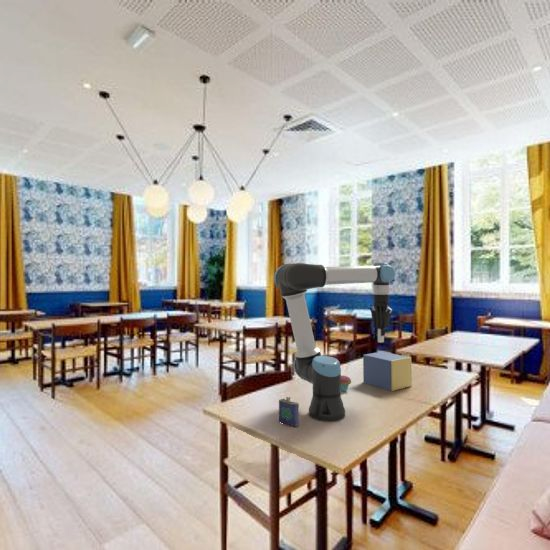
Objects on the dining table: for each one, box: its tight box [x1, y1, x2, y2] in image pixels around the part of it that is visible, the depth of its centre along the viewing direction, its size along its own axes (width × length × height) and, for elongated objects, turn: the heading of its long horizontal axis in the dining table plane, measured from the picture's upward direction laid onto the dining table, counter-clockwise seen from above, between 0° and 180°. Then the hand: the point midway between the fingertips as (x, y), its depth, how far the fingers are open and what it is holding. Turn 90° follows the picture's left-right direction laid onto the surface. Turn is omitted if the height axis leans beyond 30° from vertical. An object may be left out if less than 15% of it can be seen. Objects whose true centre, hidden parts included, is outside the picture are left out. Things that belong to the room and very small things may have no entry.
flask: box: [278, 396, 300, 428], centre depth 148 cm, size 9×3×11 cm, turn 51°
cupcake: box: [341, 375, 352, 392], centre depth 192 cm, size 9×8×12 cm
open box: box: [362, 351, 408, 391], centre depth 201 cm, size 15×18×15 cm
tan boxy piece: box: [390, 356, 413, 392], centre depth 200 cm, size 15×17×15 cm
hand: (380, 342), depth 185 cm, fingers closed
